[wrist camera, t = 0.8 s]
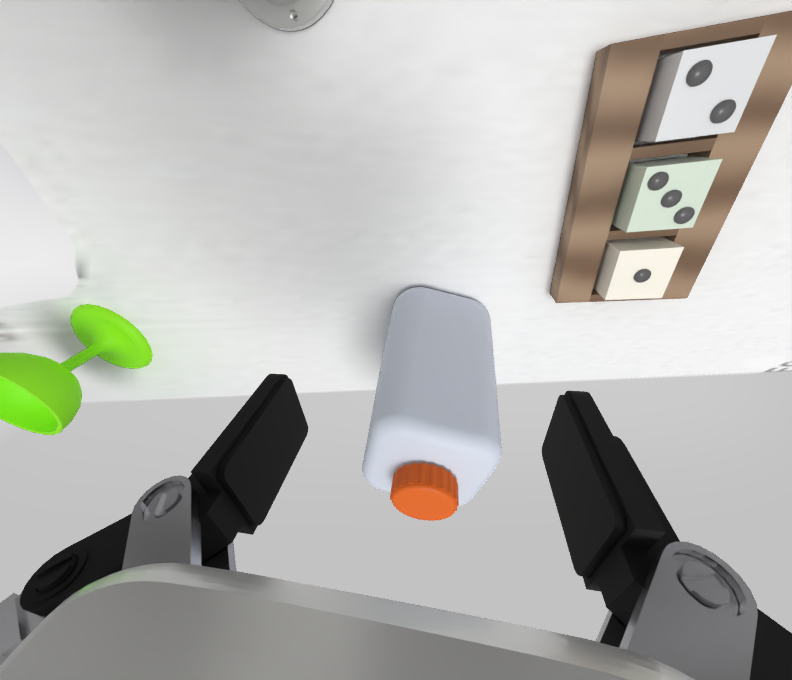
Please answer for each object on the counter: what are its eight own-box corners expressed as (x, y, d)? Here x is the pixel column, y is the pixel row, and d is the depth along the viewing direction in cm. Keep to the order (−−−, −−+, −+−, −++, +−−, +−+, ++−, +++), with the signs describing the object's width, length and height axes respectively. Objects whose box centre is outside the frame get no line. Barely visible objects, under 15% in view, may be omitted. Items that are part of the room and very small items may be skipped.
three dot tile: (626, 163, 31) (648, 167, 27) (692, 156, 30) (724, 159, 26) (609, 223, 34) (627, 233, 31) (668, 218, 33) (694, 228, 30)
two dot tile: (654, 60, 26) (685, 50, 23) (734, 47, 25) (779, 33, 22) (632, 141, 30) (656, 141, 26) (701, 132, 28) (736, 132, 25)
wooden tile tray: (596, 51, 27) (611, 43, 25) (793, 16, 25) (831, 3, 22) (549, 293, 41) (556, 302, 39) (671, 287, 39) (686, 298, 36)
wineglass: (55, 314, 59) (-73, 373, 44) (105, 295, 54) (-20, 355, 40) (119, 372, 67) (28, 438, 53) (167, 361, 62) (82, 430, 48)
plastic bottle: (464, 374, 52) (476, 557, 30) (382, 353, 52) (333, 520, 30) (498, 302, 43) (552, 485, 21) (400, 277, 43) (347, 433, 21)
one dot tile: (604, 240, 35) (621, 251, 32) (661, 236, 34) (685, 247, 31) (591, 286, 38) (605, 300, 35) (643, 283, 37) (662, 298, 34)
